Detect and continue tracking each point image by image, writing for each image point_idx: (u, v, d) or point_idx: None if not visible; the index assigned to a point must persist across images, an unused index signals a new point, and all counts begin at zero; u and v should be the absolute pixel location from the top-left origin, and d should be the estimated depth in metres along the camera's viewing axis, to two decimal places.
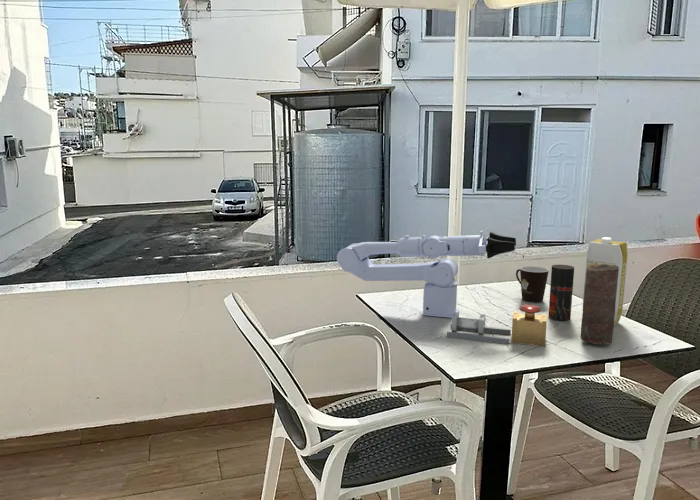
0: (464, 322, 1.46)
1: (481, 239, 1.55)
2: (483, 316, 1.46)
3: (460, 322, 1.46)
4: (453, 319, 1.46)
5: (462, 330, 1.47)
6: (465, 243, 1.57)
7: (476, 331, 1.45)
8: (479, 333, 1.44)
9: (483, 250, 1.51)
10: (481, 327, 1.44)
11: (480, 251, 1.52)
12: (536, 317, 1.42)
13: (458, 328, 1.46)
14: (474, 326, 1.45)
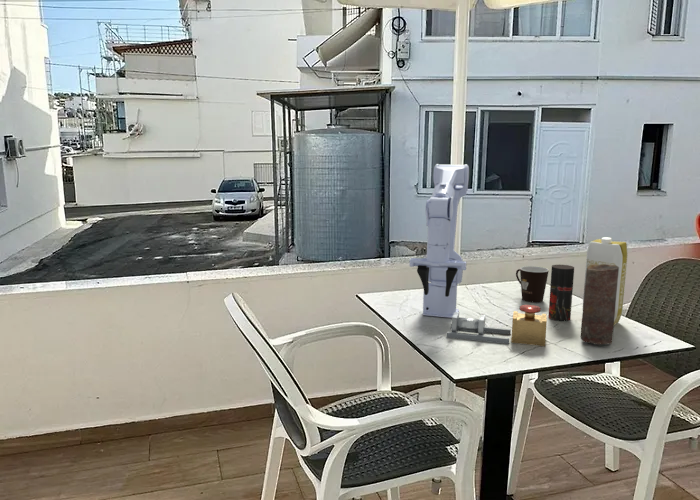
0: (464, 322, 1.46)
1: (424, 263, 1.46)
2: (483, 316, 1.46)
3: (460, 322, 1.46)
4: (453, 319, 1.46)
5: (462, 330, 1.47)
6: (427, 245, 1.46)
7: (476, 331, 1.45)
8: (479, 333, 1.44)
9: None
10: (481, 327, 1.44)
11: None
12: (536, 317, 1.42)
13: (458, 328, 1.46)
14: (474, 326, 1.45)
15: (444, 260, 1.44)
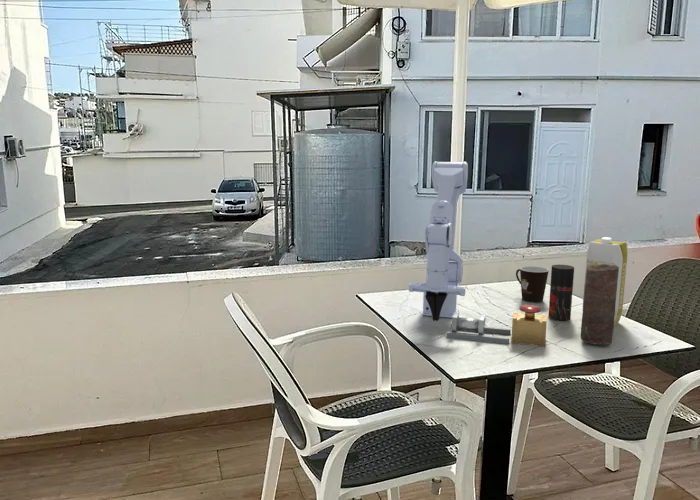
0: (464, 322, 1.46)
1: (423, 288, 1.47)
2: (483, 316, 1.46)
3: (460, 322, 1.46)
4: (453, 319, 1.46)
5: (462, 330, 1.47)
6: (426, 271, 1.47)
7: (476, 331, 1.45)
8: (479, 333, 1.44)
9: None
10: (481, 327, 1.44)
11: None
12: (536, 317, 1.42)
13: (458, 328, 1.46)
14: (474, 326, 1.45)
15: (443, 286, 1.45)
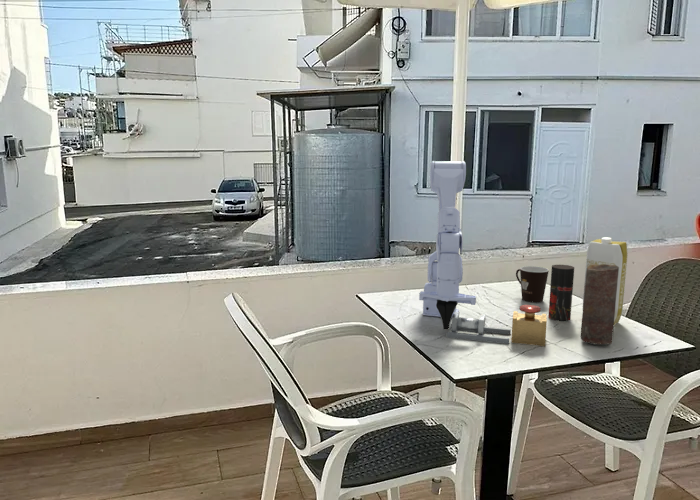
0: (464, 322, 1.46)
1: (434, 297, 1.47)
2: (483, 316, 1.46)
3: (460, 321, 1.46)
4: (453, 319, 1.46)
5: (462, 330, 1.47)
6: (437, 279, 1.47)
7: (476, 331, 1.45)
8: (479, 333, 1.44)
9: None
10: (481, 327, 1.44)
11: None
12: (536, 317, 1.42)
13: (458, 328, 1.46)
14: (474, 326, 1.45)
15: (453, 295, 1.45)
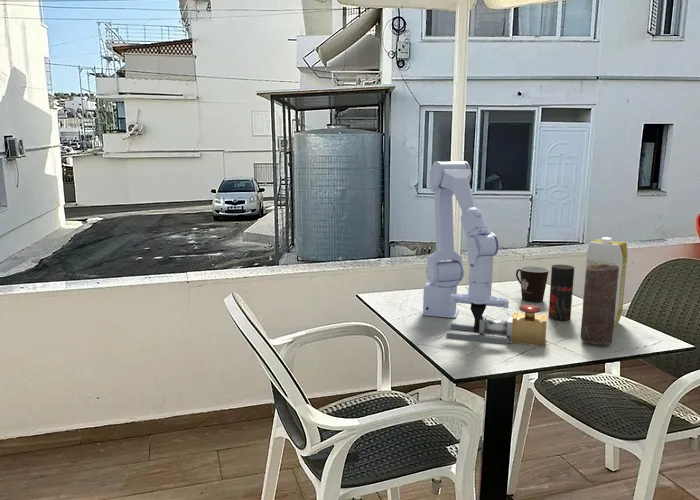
0: (492, 324, 1.44)
1: (466, 300, 1.44)
2: (511, 318, 1.44)
3: (488, 324, 1.44)
4: (481, 321, 1.44)
5: (490, 332, 1.45)
6: (469, 282, 1.44)
7: (504, 333, 1.43)
8: (508, 335, 1.42)
9: None
10: (510, 329, 1.42)
11: (451, 296, 1.48)
12: (536, 317, 1.42)
13: (485, 330, 1.45)
14: (502, 329, 1.43)
15: (486, 298, 1.42)
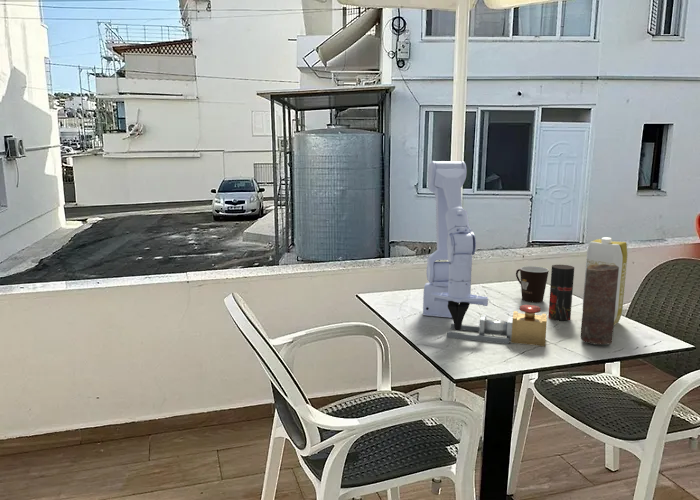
0: (492, 325, 1.44)
1: (445, 298, 1.46)
2: (511, 318, 1.44)
3: (488, 324, 1.44)
4: (481, 321, 1.44)
5: (490, 333, 1.45)
6: (448, 280, 1.46)
7: (504, 334, 1.43)
8: (508, 336, 1.42)
9: None
10: (510, 330, 1.42)
11: None
12: (536, 317, 1.42)
13: (485, 330, 1.44)
14: (502, 329, 1.43)
15: (465, 296, 1.44)
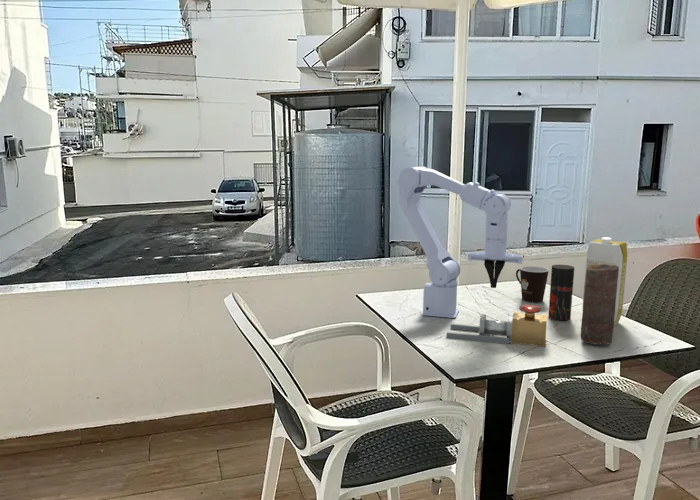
0: (492, 325, 1.44)
1: (482, 256, 1.54)
2: (511, 318, 1.44)
3: (488, 324, 1.44)
4: (481, 321, 1.44)
5: (490, 333, 1.45)
6: (485, 240, 1.54)
7: (504, 334, 1.43)
8: (508, 336, 1.42)
9: None
10: (510, 330, 1.42)
11: None
12: (536, 317, 1.42)
13: (485, 330, 1.44)
14: (502, 329, 1.43)
15: (502, 254, 1.52)
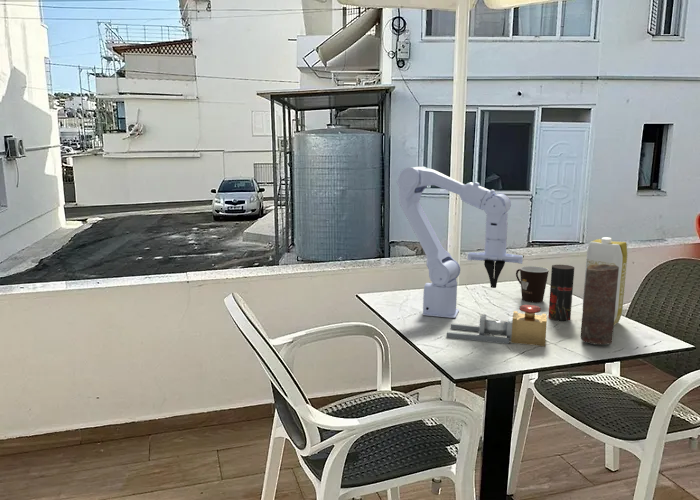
0: (492, 325, 1.44)
1: (482, 256, 1.54)
2: (511, 318, 1.44)
3: (488, 324, 1.44)
4: (481, 321, 1.44)
5: (490, 333, 1.45)
6: (485, 240, 1.54)
7: (504, 334, 1.43)
8: (508, 336, 1.42)
9: None
10: (510, 330, 1.42)
11: None
12: (536, 317, 1.42)
13: (485, 330, 1.44)
14: (502, 329, 1.43)
15: (502, 254, 1.52)
